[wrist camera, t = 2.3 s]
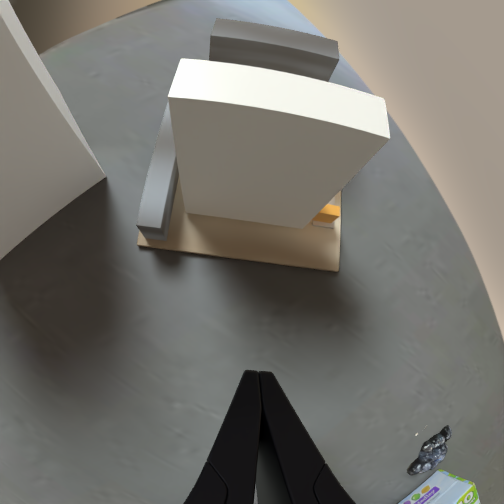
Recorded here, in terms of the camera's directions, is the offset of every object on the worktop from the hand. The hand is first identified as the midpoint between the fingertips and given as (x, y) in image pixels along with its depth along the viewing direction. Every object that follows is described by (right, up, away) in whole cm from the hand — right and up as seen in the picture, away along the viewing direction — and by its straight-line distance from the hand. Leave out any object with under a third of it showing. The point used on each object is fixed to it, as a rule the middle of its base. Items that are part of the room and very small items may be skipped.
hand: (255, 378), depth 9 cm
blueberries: (+15, -13, +12) cm, 23 cm away
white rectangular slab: (+1, +7, +13) cm, 15 cm away
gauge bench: (0, +10, +14) cm, 17 cm away
